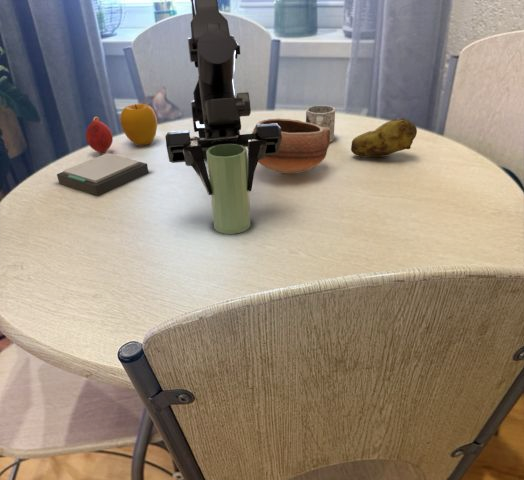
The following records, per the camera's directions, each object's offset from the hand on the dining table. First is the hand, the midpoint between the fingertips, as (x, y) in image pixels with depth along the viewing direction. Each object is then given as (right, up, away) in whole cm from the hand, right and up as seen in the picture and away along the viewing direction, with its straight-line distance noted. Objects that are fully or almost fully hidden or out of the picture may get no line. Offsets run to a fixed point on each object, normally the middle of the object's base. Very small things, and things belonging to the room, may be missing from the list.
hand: (230, 192), depth 87 cm
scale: (-28, +10, +24) cm, 38 cm away
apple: (-23, +24, +41) cm, 53 cm away
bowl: (+11, +11, +24) cm, 29 cm away
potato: (+31, +16, +28) cm, 45 cm away
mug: (+19, +23, +37) cm, 48 cm away
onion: (-32, +20, +36) cm, 52 cm away
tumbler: (0, -4, +5) cm, 7 cm away
